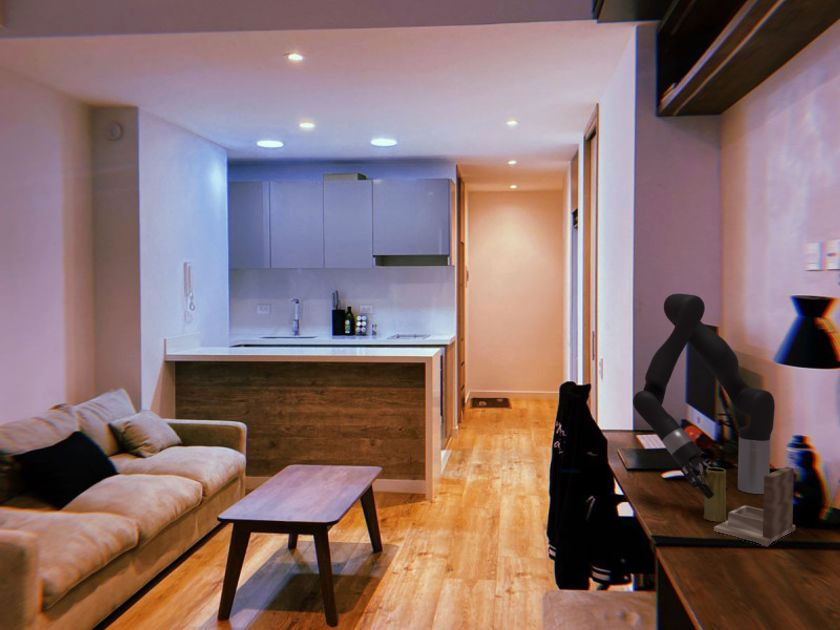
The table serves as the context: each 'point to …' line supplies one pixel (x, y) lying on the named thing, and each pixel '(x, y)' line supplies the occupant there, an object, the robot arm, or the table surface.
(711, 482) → the vase
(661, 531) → the table surface
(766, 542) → the post stand
